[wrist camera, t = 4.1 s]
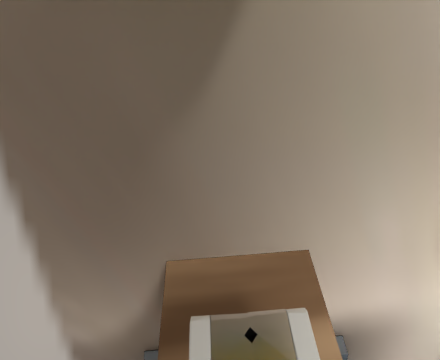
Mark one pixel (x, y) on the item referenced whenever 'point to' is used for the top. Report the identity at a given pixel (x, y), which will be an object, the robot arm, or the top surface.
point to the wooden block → (241, 295)
